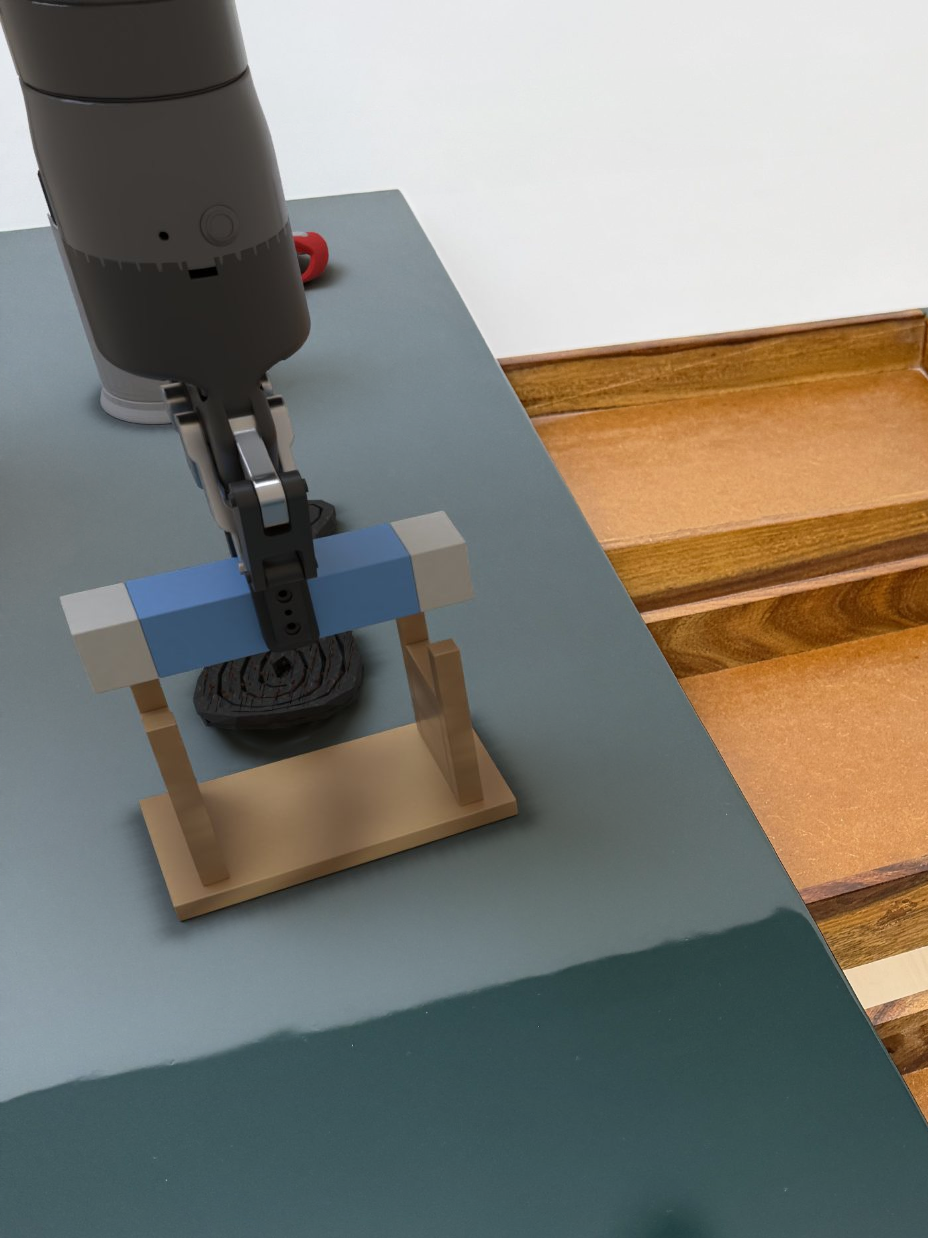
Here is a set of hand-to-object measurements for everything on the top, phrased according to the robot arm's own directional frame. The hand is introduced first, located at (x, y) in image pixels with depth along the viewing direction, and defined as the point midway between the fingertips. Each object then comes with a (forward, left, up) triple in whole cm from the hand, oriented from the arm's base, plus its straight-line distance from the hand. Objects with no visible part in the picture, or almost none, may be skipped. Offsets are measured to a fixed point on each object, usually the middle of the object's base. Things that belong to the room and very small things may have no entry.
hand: (282, 621), depth 61 cm
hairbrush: (-6, +16, -12) cm, 21 cm away
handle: (0, 0, 0) cm, 0 cm away
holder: (0, 0, -11) cm, 11 cm away
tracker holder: (-23, +63, -12) cm, 68 cm away
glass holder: (-20, +44, -12) cm, 50 cm away
